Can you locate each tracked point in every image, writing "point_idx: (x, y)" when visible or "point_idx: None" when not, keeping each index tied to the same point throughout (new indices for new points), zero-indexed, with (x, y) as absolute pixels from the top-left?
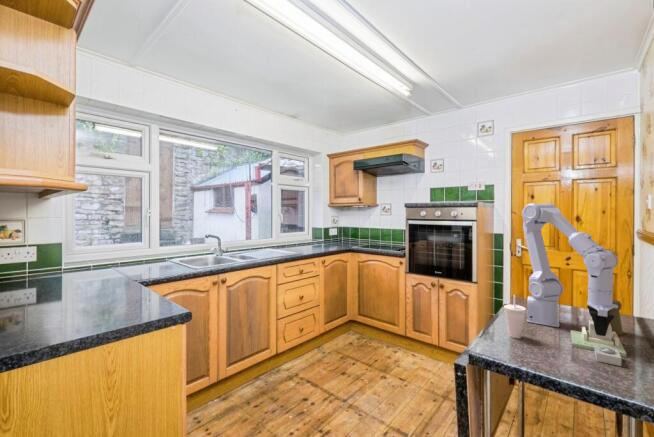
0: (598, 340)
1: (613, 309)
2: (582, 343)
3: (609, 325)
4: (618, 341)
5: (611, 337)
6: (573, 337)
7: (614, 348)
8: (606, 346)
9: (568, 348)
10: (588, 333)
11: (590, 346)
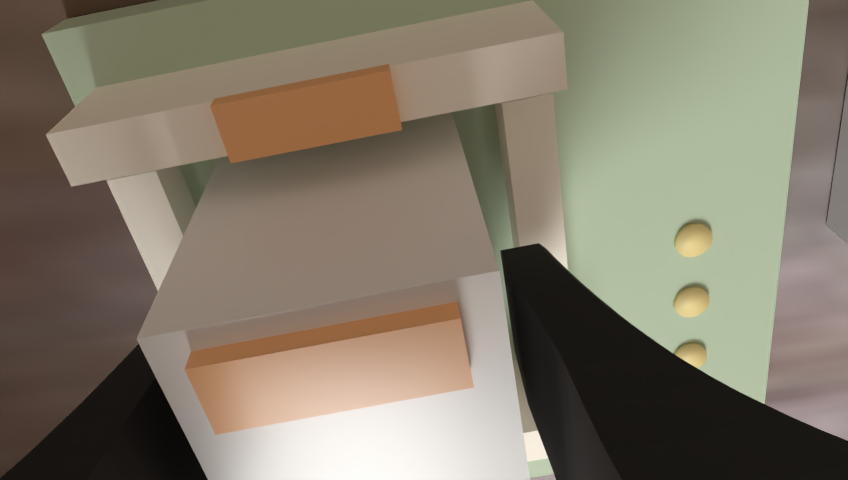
0: (565, 266)
1: None
2: (707, 367)
3: (449, 328)
4: (558, 34)
5: (460, 153)
6: (546, 460)
7: (668, 51)
8: (648, 149)
9: (828, 415)
10: None
11: (774, 293)
